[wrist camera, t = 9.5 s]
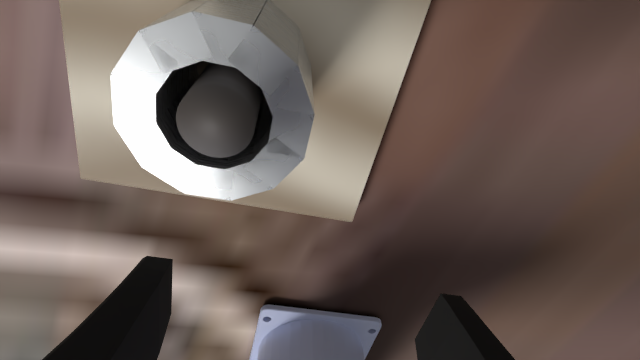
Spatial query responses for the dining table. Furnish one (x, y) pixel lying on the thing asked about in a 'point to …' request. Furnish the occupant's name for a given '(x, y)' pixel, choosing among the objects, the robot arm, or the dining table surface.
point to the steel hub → (181, 73)
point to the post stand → (253, 96)
